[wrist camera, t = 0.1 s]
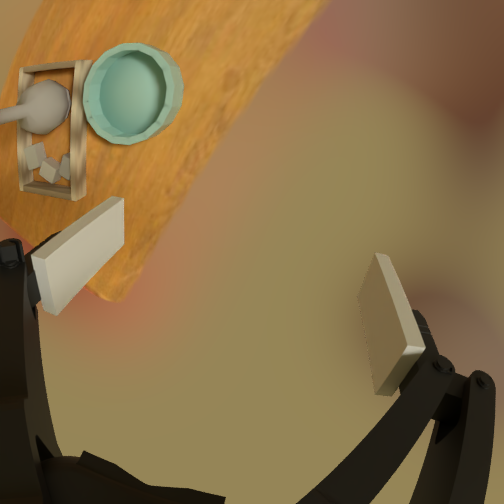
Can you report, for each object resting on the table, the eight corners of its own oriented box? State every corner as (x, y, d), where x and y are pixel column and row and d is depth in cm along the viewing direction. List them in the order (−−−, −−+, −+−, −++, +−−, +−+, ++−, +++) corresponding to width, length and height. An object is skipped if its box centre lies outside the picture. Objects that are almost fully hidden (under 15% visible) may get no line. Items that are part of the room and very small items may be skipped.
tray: (31, 66, 37) (19, 67, 35) (92, 60, 37) (81, 59, 34) (30, 185, 48) (20, 190, 45) (86, 195, 47) (76, 201, 45)
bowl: (102, 47, 36) (88, 45, 33) (190, 46, 35) (181, 43, 32) (93, 136, 43) (80, 140, 39) (176, 145, 42) (167, 149, 39)
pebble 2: (71, 151, 44) (63, 155, 42) (81, 158, 45) (74, 161, 43) (66, 170, 46) (58, 173, 44) (76, 176, 46) (68, 180, 44)
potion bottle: (82, 86, 39) (-6, 100, 23) (66, 137, 43) (-17, 169, 27) (47, 72, 38) (-38, 83, 22) (33, 120, 42) (-47, 146, 26)
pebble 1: (47, 170, 46) (38, 174, 44) (51, 156, 45) (42, 160, 43) (60, 179, 47) (52, 184, 45) (64, 165, 46) (56, 169, 44)
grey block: (33, 145, 45) (23, 149, 42) (43, 141, 44) (34, 144, 42) (38, 166, 46) (28, 170, 44) (48, 162, 46) (39, 166, 44)
